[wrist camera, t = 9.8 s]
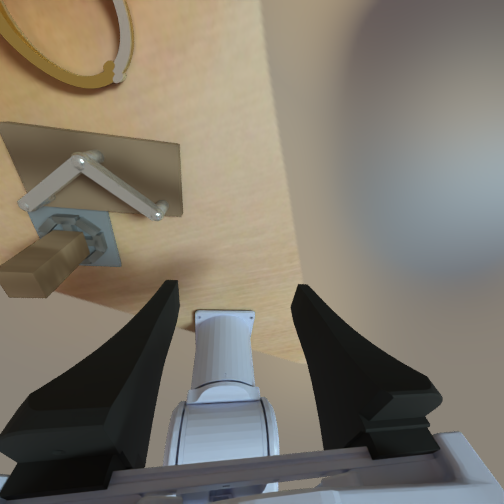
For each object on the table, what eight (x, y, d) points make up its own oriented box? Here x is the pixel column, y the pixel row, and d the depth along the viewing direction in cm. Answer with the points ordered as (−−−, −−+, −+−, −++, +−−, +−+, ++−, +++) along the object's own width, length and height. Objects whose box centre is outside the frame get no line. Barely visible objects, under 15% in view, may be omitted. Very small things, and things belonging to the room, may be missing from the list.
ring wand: (111, 261, 22) (72, 310, 17) (56, 258, 21) (-4, 309, 16) (98, 216, 19) (47, 257, 14) (35, 211, 19) (-46, 253, 13)
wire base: (182, 212, 20) (181, 216, 19) (41, 201, 18) (32, 205, 18) (179, 143, 17) (177, 145, 16) (7, 121, 15) (-5, 121, 14)
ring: (80, 118, 14) (-116, -65, 9) (97, 111, 16) (-49, -37, 11) (155, 40, 12) (-34, -240, 7) (163, 44, 15) (25, -163, 10)
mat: (121, 265, 23) (120, 266, 23) (54, 262, 22) (52, 264, 22) (107, 208, 19) (105, 210, 19) (26, 202, 18) (23, 203, 18)
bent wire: (172, 207, 20) (162, 224, 17) (51, 197, 18) (16, 213, 15) (168, 154, 17) (156, 162, 14) (28, 137, 16) (-19, 142, 13)
